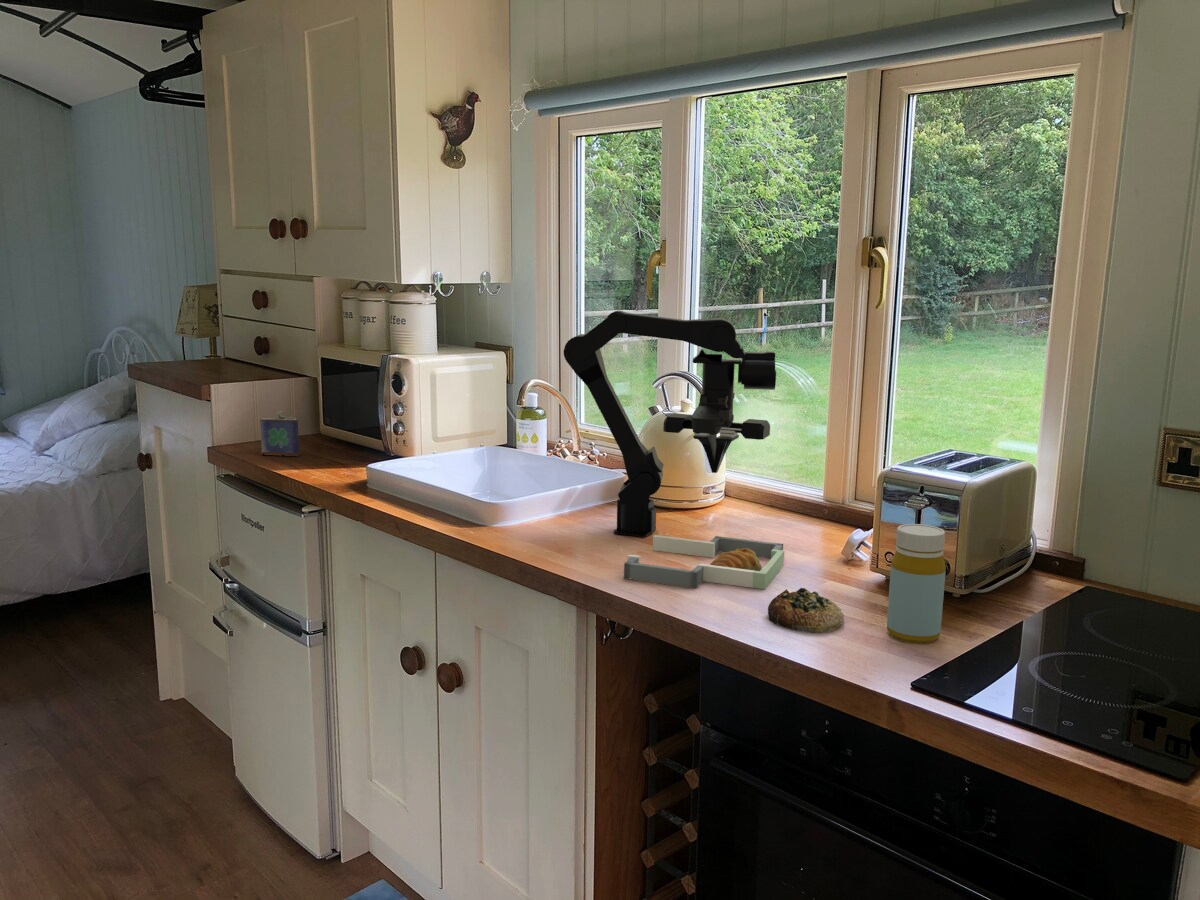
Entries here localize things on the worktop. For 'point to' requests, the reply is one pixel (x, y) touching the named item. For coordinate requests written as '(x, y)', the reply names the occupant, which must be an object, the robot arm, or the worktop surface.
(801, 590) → the bread roll
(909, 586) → the bottle
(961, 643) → the worktop surface
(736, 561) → the pastry
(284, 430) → the flask
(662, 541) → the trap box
